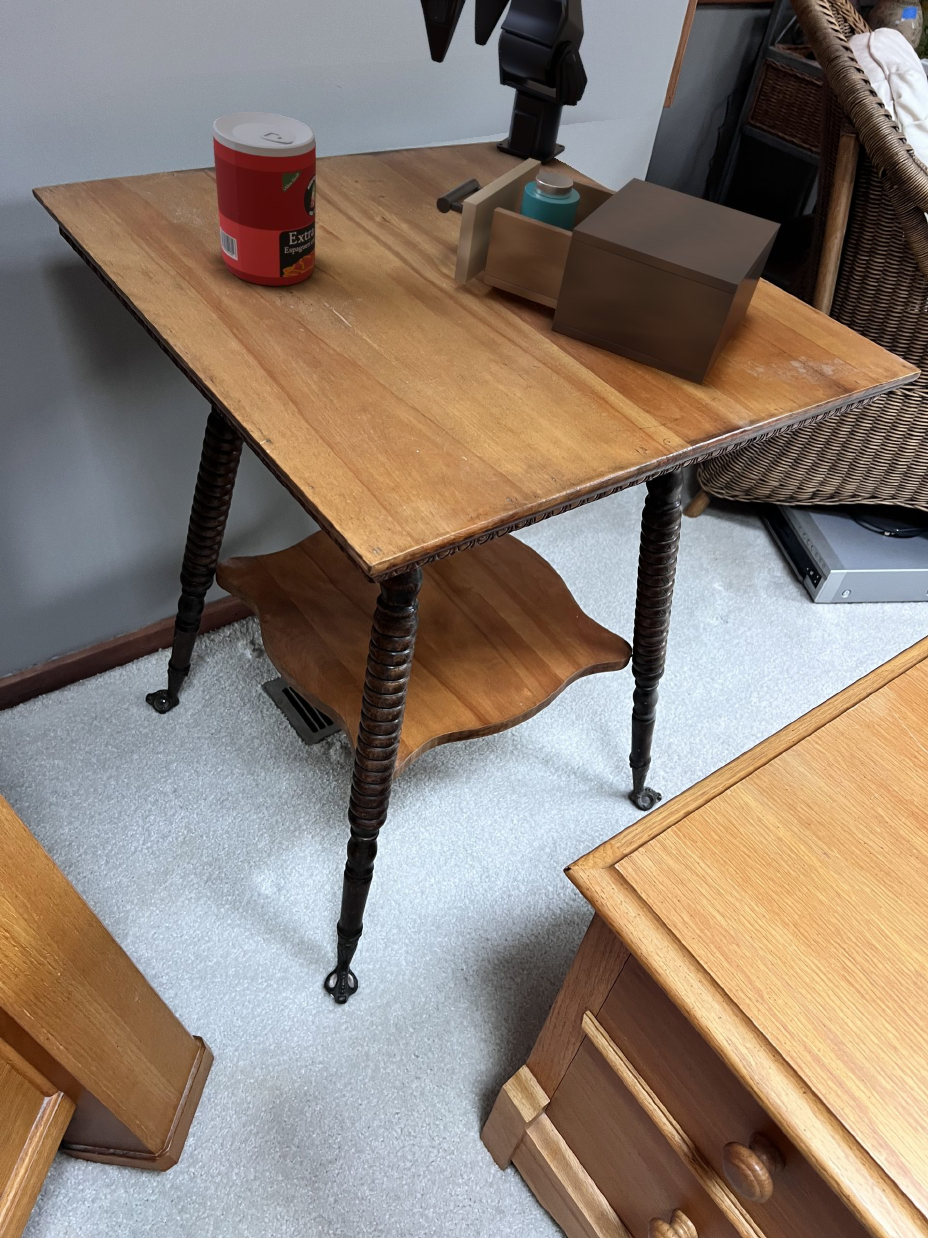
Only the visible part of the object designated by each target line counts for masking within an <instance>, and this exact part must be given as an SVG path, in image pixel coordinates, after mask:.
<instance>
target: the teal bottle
mask: <svg viewBox="0 0 928 1238" xmlns="http://www.w3.org/2000/svg"><path fill="white" fill-rule="evenodd" d="M559 173H560V172H558V173H553V172H549V171H543V172H539V174H537V176H536V180H535V181H533V182H530V183H528V184H526V186H525V189H524V194H523V200H522V206H521V212H520V215H523V216H526V217H529V218H532V219H535V220H538V221H541V222H544V223H547V224H550V225H553V226H556V227H559V228H561V229H564V230H567V231H570V232H572V231H573V226H574V222H575V217H576V213H577V208H578V203H579V199H580V196H579V193H578V192H577V191H576V190H574V189H573V188H572V187H573V181H572V180H571V179H570V178H569V177H567V176H568V175H567V176H565V175H566V174H564V175H562V174H563V173H561V174H559Z"/></svg>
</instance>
